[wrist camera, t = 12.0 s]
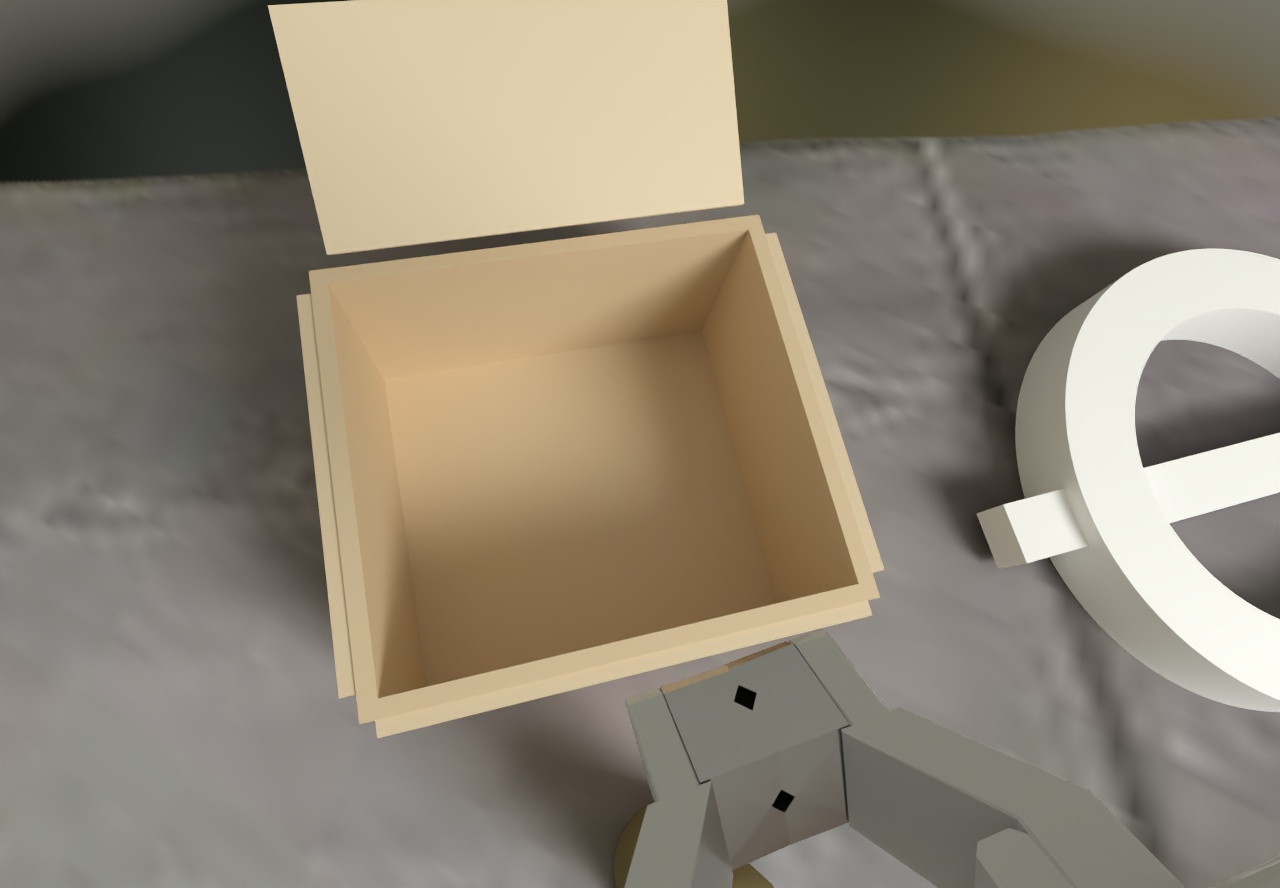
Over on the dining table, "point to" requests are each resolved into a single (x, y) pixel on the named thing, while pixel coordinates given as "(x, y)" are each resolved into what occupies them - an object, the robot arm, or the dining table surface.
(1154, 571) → the ring with crossbar
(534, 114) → the carton flap
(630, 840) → the cork
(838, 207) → the dining table surface
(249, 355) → the dining table surface
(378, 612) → the carton
